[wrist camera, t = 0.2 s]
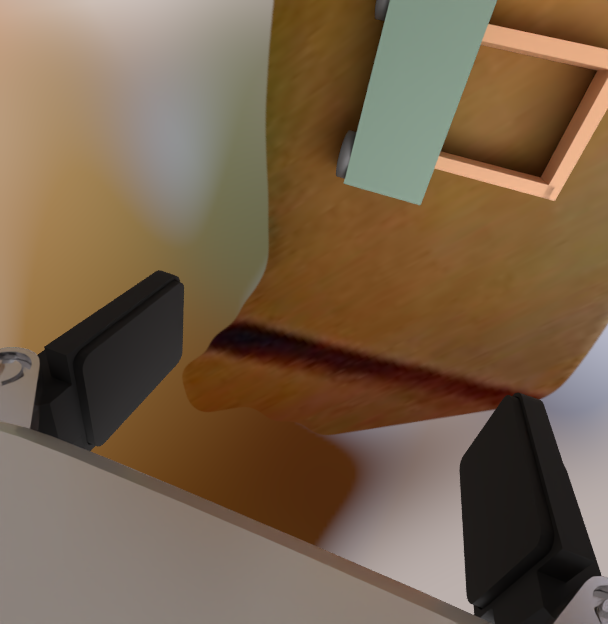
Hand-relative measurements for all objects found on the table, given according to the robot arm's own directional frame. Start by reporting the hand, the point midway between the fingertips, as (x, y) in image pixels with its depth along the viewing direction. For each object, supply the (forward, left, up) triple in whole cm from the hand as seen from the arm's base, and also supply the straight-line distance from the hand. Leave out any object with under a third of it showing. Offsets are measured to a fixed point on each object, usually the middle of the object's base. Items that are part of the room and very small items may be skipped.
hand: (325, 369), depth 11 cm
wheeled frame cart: (-6, +3, -31) cm, 31 cm away
